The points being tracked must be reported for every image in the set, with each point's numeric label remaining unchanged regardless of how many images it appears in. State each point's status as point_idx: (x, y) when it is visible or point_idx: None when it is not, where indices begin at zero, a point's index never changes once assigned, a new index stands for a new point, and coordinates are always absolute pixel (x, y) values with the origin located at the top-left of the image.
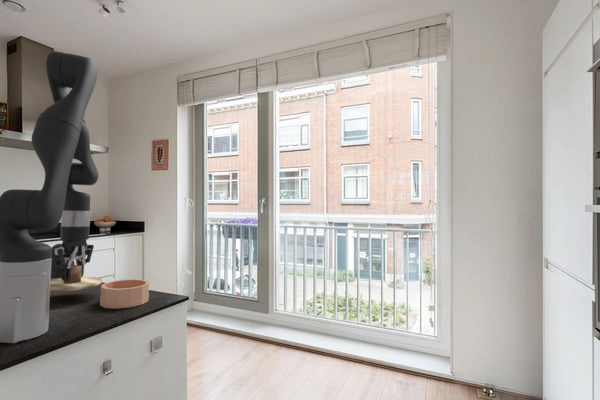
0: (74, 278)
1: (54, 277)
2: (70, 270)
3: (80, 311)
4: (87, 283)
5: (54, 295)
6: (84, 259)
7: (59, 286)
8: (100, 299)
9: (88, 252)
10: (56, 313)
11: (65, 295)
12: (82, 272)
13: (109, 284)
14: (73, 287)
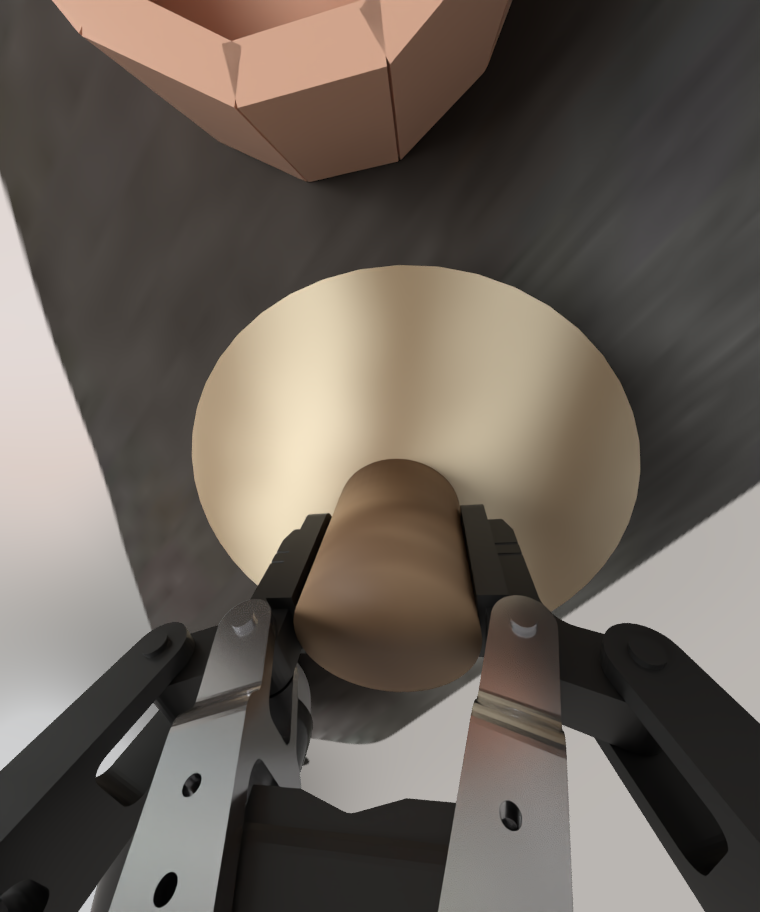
0: (430, 488)
1: None
2: (474, 571)
3: (675, 77)
4: (399, 344)
5: None
6: (212, 683)
7: (577, 468)
8: (502, 19)
9: (27, 837)
10: (726, 241)
11: None
12: (303, 538)
13: (308, 33)
14: (576, 333)
